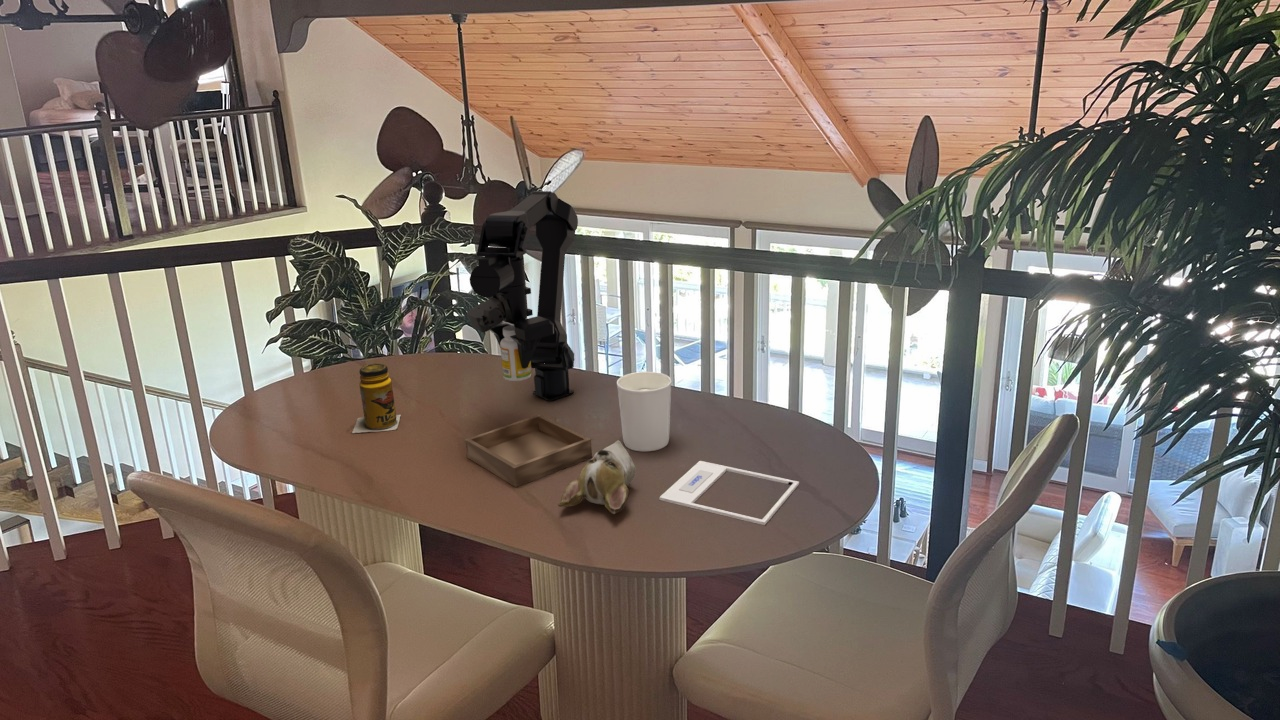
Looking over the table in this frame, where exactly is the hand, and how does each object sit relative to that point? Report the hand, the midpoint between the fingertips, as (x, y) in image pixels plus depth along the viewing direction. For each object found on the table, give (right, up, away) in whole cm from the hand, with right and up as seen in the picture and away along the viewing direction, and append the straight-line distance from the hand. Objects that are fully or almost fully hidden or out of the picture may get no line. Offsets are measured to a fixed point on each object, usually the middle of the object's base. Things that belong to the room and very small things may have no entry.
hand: (516, 364), depth 168 cm
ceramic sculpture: (+18, -22, -24) cm, 37 cm away
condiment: (-29, -12, +8) cm, 32 cm away
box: (+3, -17, -9) cm, 19 cm away
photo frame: (+38, -21, -24) cm, 49 cm away
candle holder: (+24, -14, -5) cm, 29 cm away
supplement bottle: (0, -3, +1) cm, 3 cm away
